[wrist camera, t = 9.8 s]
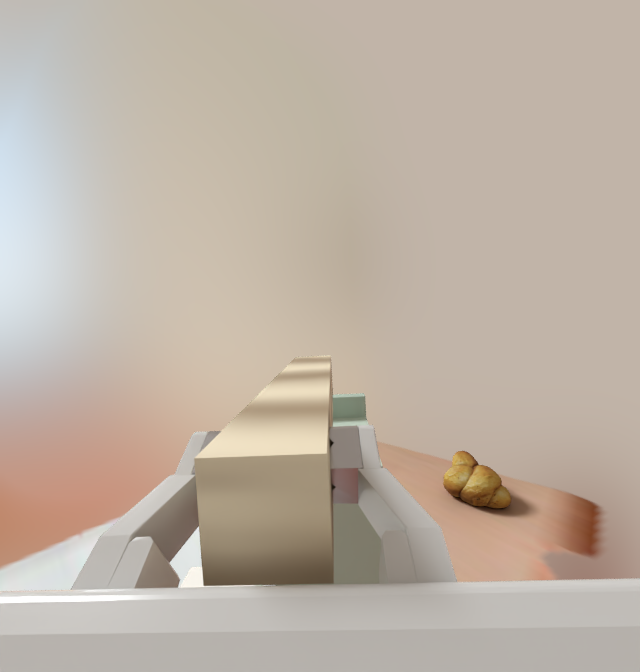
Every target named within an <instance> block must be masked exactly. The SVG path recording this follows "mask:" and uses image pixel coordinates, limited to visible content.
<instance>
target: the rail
mask: <svg viewBox="0 0 640 672" xmlns="http://www.w3.org/2000/svg"><path fill="white" fill-rule="evenodd" d="M329 427H333V388H332V369H331V356H312V357H296V358H294V360H293V361H291V362H290V363H289V364H288V366H286V368H284V369H283V371H282V372H281V373H279V375H278V376H276V377H275V378H274V379H273V381H271V382H270V383H269V384H268V385H267V386H266V387H265V389H263V390H262V391H261V392H260V393H259V394H258V395H257V396H256V397H255V398H254V399H253V400H252V401H251V402H250V403H249V404H248V405H247V406H246V407H245V408H244V409H243V410H242V411H241V412H240V413H239V414H238V415H237V416H236V417H235V418H234V419H233V420H232V421H231V422H230V423H229V424H228V425H227V426H226V427H225V428H224V429H223V430H222V431H221V432H220V433H219V434H218V435H217V436H216V437H215V438H214V439H213V440H212V441H211V442H210V443H209V444H208V445H207V446H206V447H205V448H204V449H203V450H202V451H201V452H200V453H199V454H198V455H197V456H196V457H195V458H194V463H195V477H196V490H197V504H198V518H199V531H200V545H201V559H202V572H203V586H233V585H283V584H333V583H334V537H333V499H332V483H331V474H330V439H329Z"/></svg>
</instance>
